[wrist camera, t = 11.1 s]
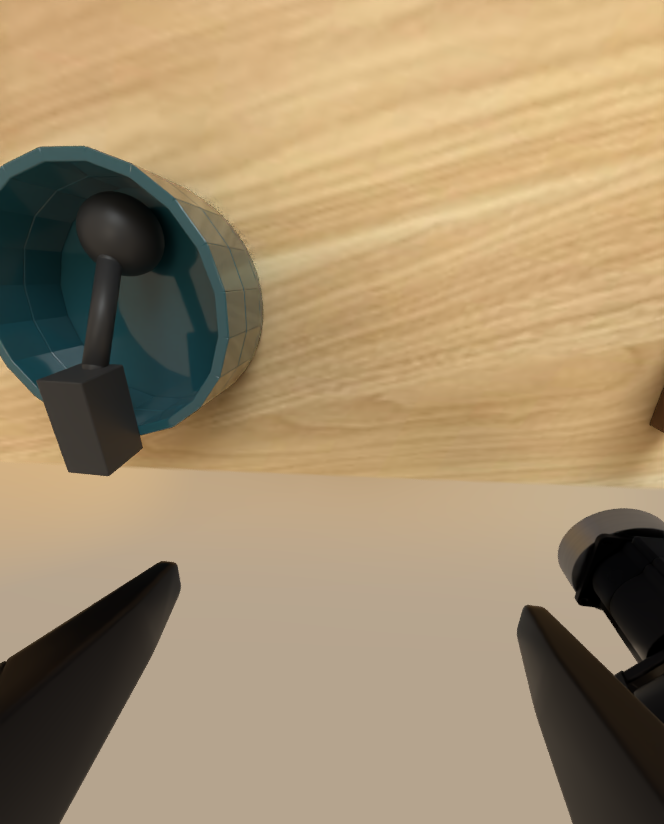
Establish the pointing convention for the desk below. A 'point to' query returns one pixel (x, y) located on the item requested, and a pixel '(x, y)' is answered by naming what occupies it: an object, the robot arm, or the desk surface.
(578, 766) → the robot arm
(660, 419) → the chocolate brown square
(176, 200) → the bowl
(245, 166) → the desk surface
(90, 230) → the ladle
